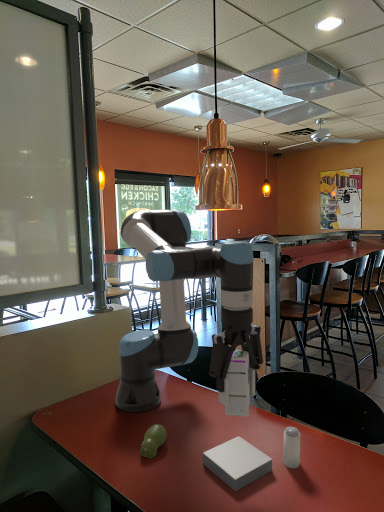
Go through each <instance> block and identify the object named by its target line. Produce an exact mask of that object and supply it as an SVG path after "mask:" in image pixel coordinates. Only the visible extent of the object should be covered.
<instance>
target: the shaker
mask: <svg viewBox="0 0 384 512" xmlns="http://www.w3.org/2000/svg"><path fill="white" fill-rule="evenodd" d="M282 458H283V459H282V460H283V465H284V466H285V467H286V468H289V469H299V467H300V464H301V432H300V430H299V429H298V428H297V427H295V426H286V427H285V429H284V431H283V457H282Z"/></svg>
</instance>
